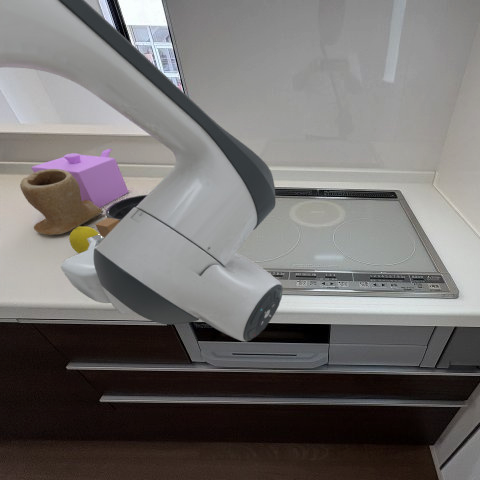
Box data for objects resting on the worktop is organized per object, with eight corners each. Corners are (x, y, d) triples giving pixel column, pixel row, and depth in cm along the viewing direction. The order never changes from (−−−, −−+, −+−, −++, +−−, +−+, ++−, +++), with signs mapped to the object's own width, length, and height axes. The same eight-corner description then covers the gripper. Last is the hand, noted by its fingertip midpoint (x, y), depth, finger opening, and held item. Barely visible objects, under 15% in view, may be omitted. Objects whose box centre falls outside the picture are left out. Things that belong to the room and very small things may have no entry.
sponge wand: (116, 281, 56) (85, 225, 48) (132, 269, 59) (105, 214, 51) (136, 286, 55) (108, 229, 47) (151, 273, 58) (127, 218, 50)
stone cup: (66, 242, 66) (31, 186, 57) (29, 234, 68) (-10, 179, 60) (118, 214, 78) (95, 164, 70) (85, 208, 80) (60, 159, 72)
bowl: (99, 234, 69) (92, 219, 67) (132, 207, 82) (126, 194, 79) (158, 235, 70) (153, 220, 68) (181, 208, 83) (178, 195, 80)
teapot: (143, 184, 96) (129, 144, 88) (81, 217, 76) (56, 170, 68) (106, 180, 98) (89, 141, 90) (36, 211, 77) (6, 164, 70)
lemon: (75, 258, 61) (56, 229, 57) (100, 246, 65) (85, 218, 61) (88, 265, 59) (70, 236, 55) (114, 252, 63) (99, 224, 59)
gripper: (236, 211, 42) (183, 188, 48) (83, 285, 27) (34, 239, 33) (241, 243, 45) (191, 218, 51) (108, 324, 31) (60, 276, 37)
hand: (128, 227), depth 42 cm, fingers open, 8 cm apart
